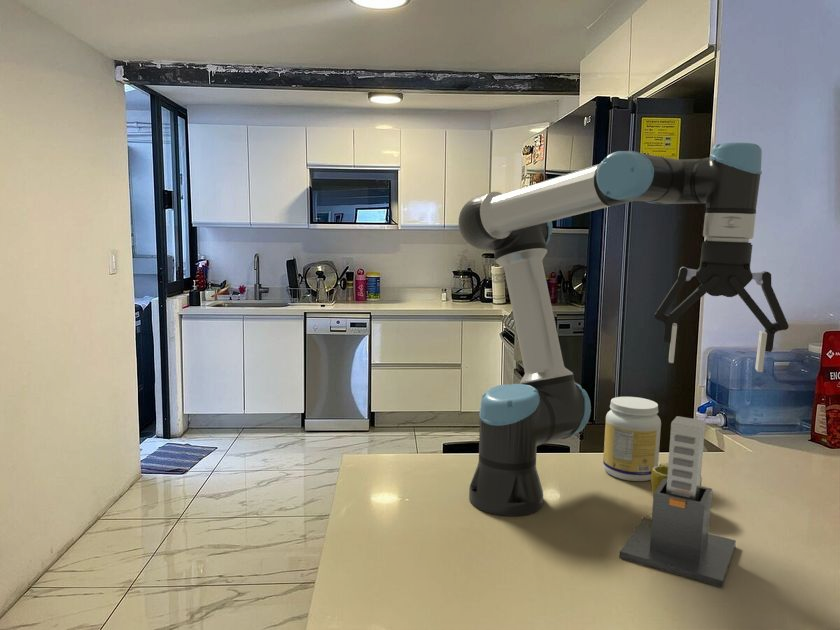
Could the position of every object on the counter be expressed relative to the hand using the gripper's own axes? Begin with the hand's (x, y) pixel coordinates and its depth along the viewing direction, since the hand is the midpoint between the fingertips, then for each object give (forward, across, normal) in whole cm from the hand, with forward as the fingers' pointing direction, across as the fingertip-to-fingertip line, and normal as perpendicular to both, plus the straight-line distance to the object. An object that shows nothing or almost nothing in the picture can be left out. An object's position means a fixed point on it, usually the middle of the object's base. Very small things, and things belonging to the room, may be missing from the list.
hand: (713, 366), depth 107 cm
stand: (+33, -3, -3) cm, 33 cm away
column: (+31, -3, -4) cm, 32 cm away
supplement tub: (+34, -12, +32) cm, 48 cm away
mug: (+33, -3, +17) cm, 38 cm away
